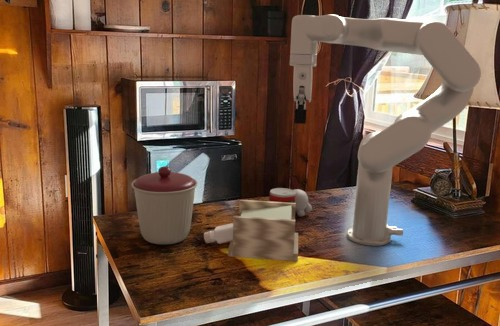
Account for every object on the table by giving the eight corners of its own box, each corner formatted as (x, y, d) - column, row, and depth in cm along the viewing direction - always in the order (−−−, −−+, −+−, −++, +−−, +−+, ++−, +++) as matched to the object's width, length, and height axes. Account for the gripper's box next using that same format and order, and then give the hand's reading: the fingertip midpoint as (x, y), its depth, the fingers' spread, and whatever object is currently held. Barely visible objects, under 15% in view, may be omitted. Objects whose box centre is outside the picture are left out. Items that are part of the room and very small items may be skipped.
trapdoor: (292, 211, 140) (291, 205, 139) (291, 227, 128) (290, 220, 128) (243, 217, 142) (242, 210, 141) (238, 232, 130) (237, 225, 129)
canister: (129, 229, 146) (127, 160, 141) (189, 224, 152) (189, 157, 147) (137, 254, 130) (135, 177, 125) (204, 246, 136) (204, 172, 131)
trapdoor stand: (297, 239, 143) (299, 203, 140) (297, 261, 129) (299, 221, 126) (234, 235, 145) (235, 199, 142) (227, 256, 130) (228, 217, 128)
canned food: (292, 230, 149) (294, 196, 147) (266, 228, 151) (267, 193, 148) (295, 222, 157) (297, 189, 154) (270, 219, 158) (271, 186, 155)
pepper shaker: (237, 221, 138) (205, 228, 139) (234, 226, 134) (202, 234, 136) (241, 234, 138) (209, 241, 140) (238, 239, 135) (206, 247, 136)
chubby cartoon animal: (275, 221, 164) (267, 199, 161) (303, 204, 168) (296, 183, 165) (287, 228, 158) (279, 206, 155) (316, 210, 162) (309, 188, 159)
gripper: (317, 62, 131) (313, 126, 135) (315, 60, 147) (312, 117, 151) (289, 61, 131) (286, 125, 135) (290, 59, 148) (287, 116, 152)
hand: (299, 120), depth 143 cm, fingers open, 9 cm apart
